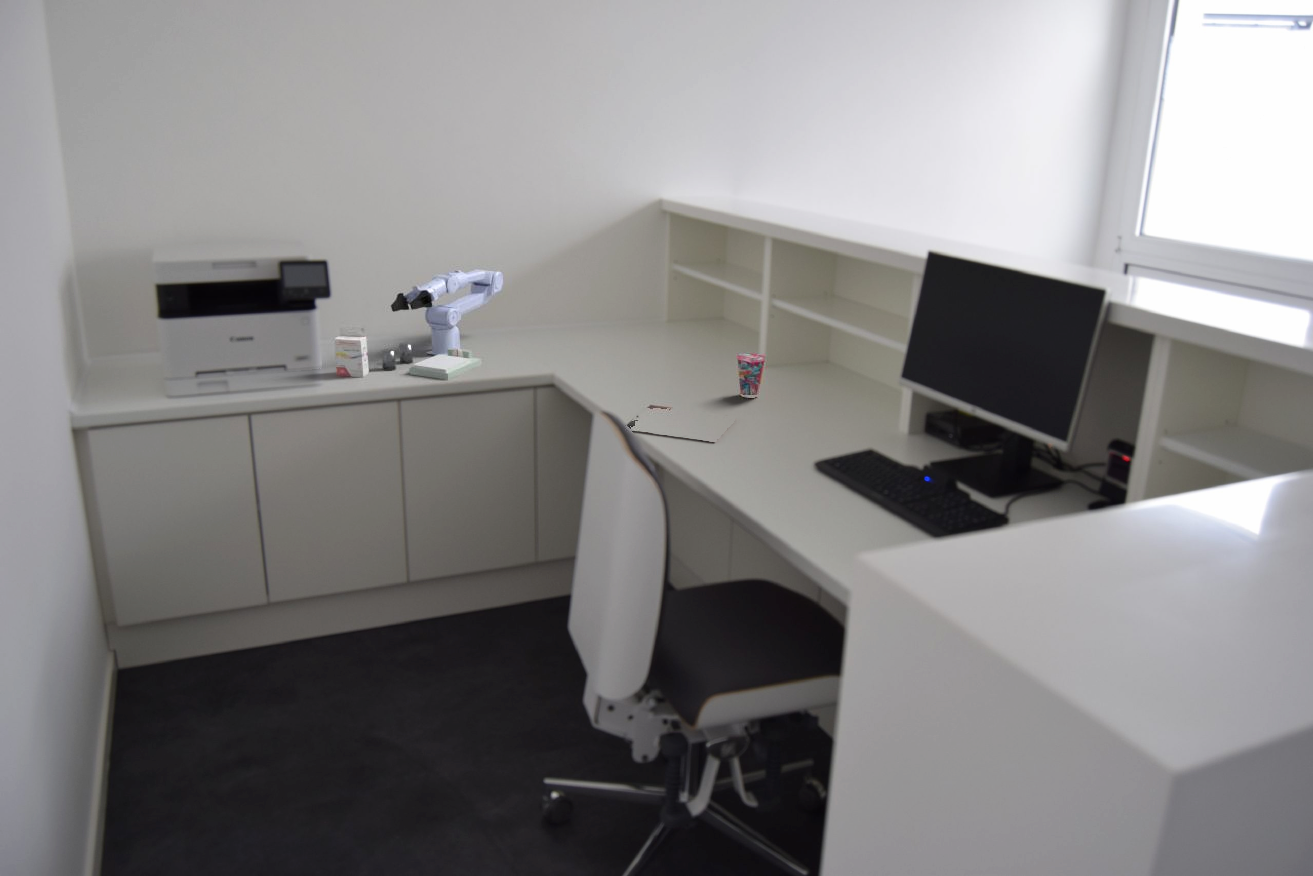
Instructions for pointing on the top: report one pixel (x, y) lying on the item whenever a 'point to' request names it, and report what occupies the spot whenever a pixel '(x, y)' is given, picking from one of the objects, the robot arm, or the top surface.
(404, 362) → the cylinder
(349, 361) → the ink cartridge box
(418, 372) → the scale
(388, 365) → the cylinder
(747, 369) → the cup
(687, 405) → the top surface
